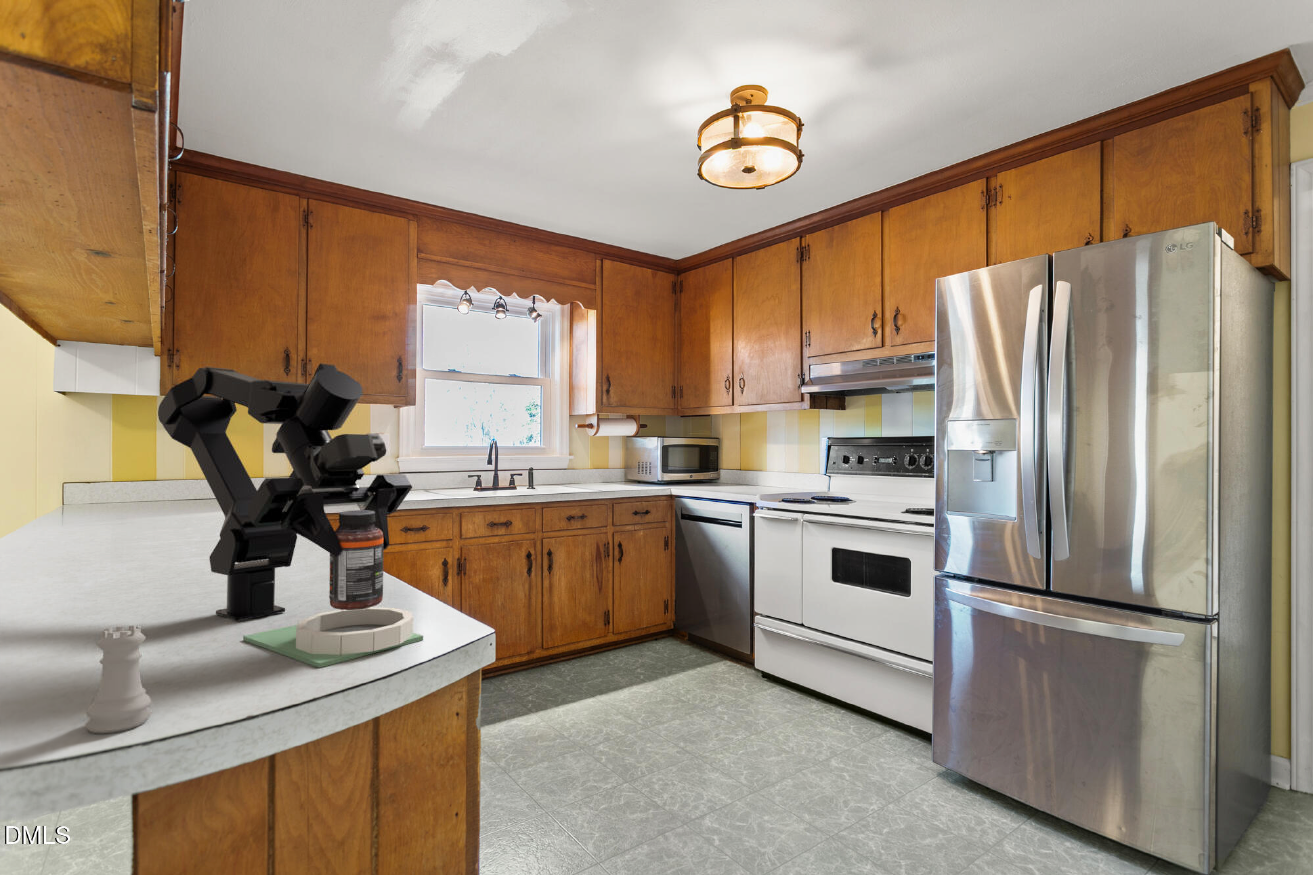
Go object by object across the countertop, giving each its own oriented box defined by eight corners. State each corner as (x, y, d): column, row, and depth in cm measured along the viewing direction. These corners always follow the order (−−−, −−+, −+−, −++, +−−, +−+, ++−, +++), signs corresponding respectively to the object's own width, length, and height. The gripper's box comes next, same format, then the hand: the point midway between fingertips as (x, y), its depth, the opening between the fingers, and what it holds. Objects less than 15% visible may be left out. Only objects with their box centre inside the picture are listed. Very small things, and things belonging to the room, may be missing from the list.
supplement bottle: (332, 600, 82) (333, 509, 82) (384, 597, 84) (385, 508, 84) (325, 613, 77) (326, 515, 77) (381, 609, 79) (382, 513, 79)
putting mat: (243, 640, 81) (243, 635, 81) (345, 618, 91) (345, 614, 91) (319, 667, 71) (319, 663, 71) (423, 639, 82) (423, 635, 82)
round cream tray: (275, 641, 79) (275, 622, 79) (372, 619, 89) (373, 602, 89) (334, 661, 72) (334, 641, 72) (432, 635, 82) (433, 617, 82)
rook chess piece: (114, 738, 54) (117, 638, 54) (69, 732, 55) (72, 634, 55) (165, 716, 58) (168, 624, 58) (123, 711, 59) (126, 620, 59)
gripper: (263, 406, 75) (317, 512, 69) (405, 415, 91) (458, 501, 85) (226, 473, 79) (273, 578, 73) (368, 470, 95) (416, 556, 89)
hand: (363, 550), depth 80 cm, fingers closed on supplement bottle, 6 cm apart
